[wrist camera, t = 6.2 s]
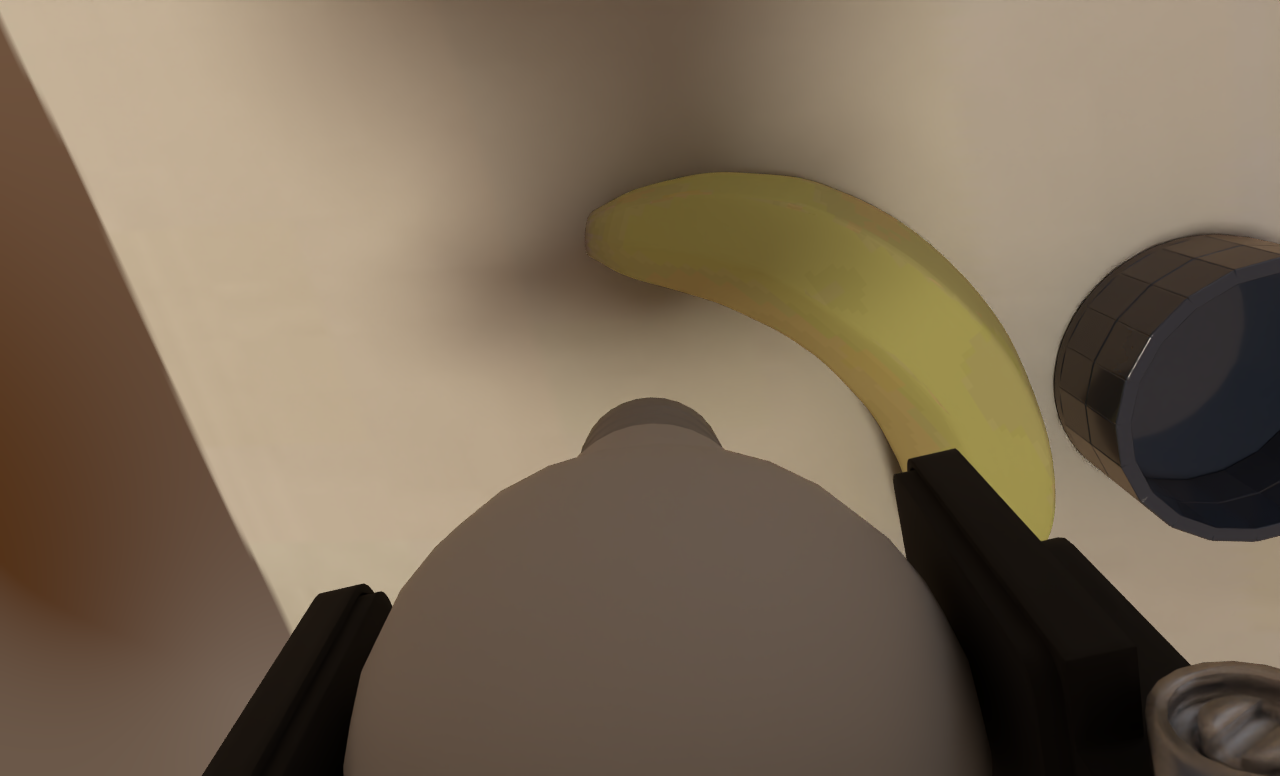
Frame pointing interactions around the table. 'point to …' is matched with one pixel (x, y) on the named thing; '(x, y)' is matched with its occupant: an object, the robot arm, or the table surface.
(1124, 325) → the dark grey round bowl
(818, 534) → the lightbulb
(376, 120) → the table surface
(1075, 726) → the robot arm
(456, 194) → the table surface
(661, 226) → the banana
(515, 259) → the table surface
